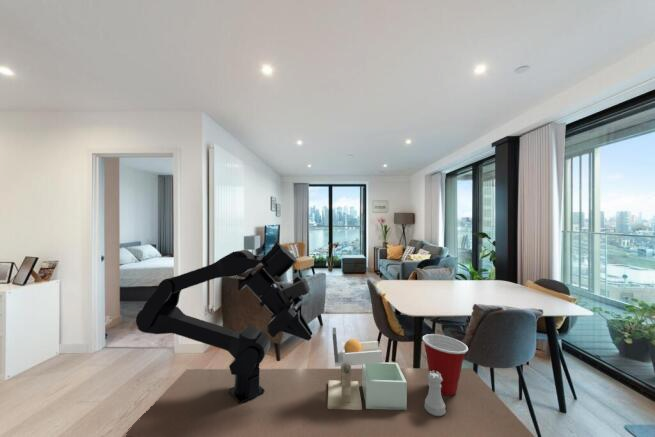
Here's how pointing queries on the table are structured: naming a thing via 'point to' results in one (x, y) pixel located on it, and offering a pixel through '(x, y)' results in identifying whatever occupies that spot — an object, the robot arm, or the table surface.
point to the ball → (352, 346)
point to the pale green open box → (384, 386)
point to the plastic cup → (445, 359)
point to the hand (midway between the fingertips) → (310, 337)
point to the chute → (357, 353)
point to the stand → (344, 392)
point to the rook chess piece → (435, 395)
